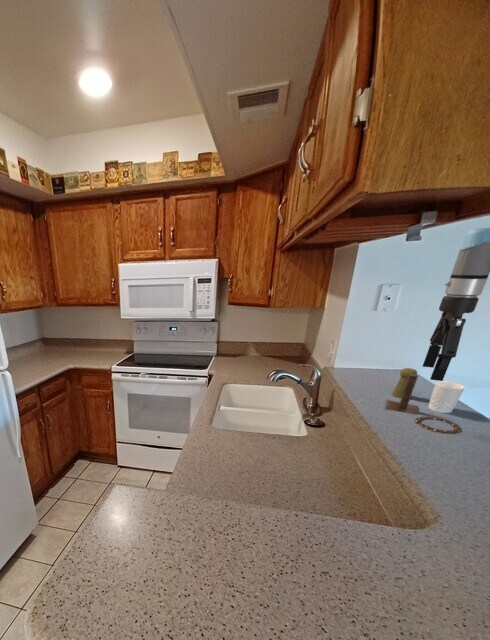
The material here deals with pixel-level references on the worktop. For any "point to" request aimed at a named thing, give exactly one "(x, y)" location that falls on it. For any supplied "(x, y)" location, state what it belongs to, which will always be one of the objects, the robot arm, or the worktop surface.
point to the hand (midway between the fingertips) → (431, 373)
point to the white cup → (445, 396)
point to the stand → (405, 398)
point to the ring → (456, 429)
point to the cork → (403, 382)
